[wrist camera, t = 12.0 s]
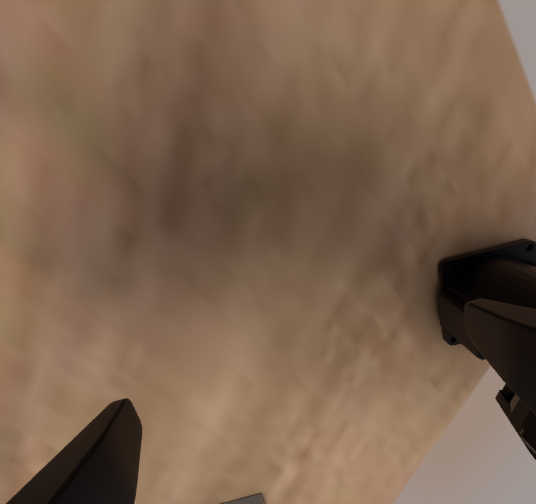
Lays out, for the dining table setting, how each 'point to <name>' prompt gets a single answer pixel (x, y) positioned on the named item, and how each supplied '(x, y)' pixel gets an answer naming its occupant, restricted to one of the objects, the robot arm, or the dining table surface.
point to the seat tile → (249, 500)
